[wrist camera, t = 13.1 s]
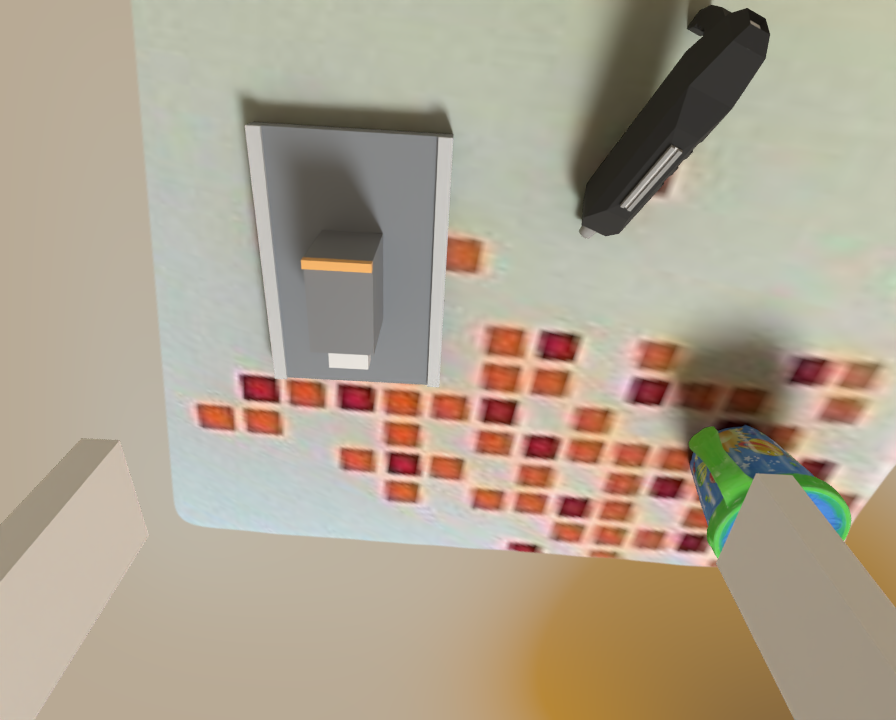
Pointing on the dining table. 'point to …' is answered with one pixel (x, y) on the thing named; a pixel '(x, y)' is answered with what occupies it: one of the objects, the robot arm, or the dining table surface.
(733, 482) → the snack cup
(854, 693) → the robot arm
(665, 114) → the gun
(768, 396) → the dining table surface
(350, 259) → the block
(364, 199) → the slate pad
